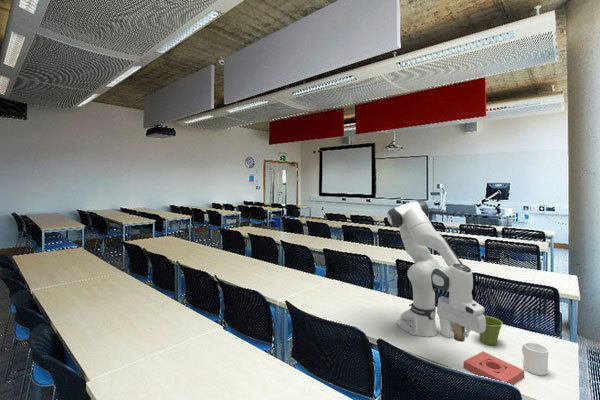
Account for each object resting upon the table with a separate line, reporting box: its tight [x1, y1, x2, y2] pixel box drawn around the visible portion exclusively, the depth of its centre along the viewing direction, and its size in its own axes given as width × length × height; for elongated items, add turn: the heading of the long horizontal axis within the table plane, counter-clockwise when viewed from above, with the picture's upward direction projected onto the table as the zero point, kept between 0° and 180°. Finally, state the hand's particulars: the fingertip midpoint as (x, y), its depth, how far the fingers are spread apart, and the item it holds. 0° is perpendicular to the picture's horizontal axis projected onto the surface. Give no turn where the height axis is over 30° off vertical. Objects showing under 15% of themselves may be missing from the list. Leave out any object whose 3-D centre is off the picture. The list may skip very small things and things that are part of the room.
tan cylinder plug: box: [453, 323, 466, 343], centre depth 133 cm, size 4×4×7 cm
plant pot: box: [478, 315, 504, 346], centre depth 157 cm, size 12×12×11 cm
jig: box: [463, 351, 525, 386], centre depth 133 cm, size 17×15×3 cm
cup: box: [438, 316, 454, 339], centre depth 165 cm, size 11×10×17 cm
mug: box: [521, 342, 549, 376], centre depth 136 cm, size 12×8×10 cm
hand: (459, 333), depth 133 cm, fingers closed on tan cylinder plug, 4 cm apart
